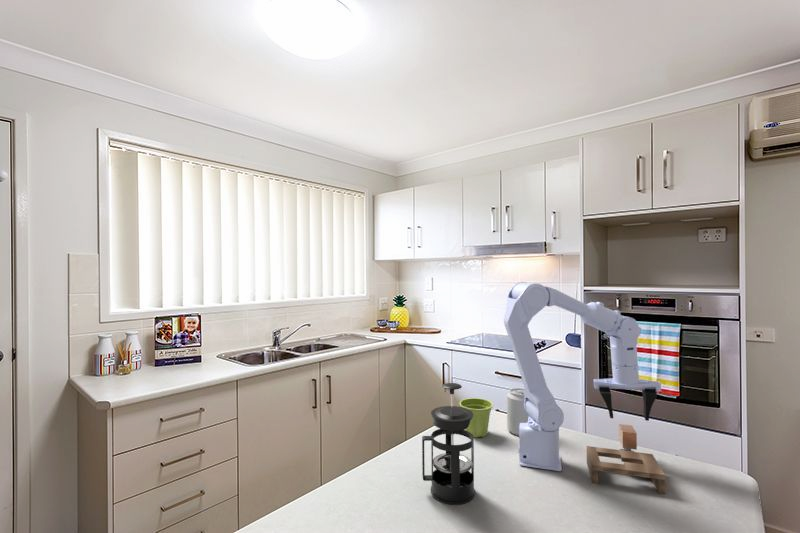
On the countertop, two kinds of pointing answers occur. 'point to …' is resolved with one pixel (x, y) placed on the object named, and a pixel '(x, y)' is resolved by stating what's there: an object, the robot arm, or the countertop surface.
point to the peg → (627, 437)
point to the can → (516, 410)
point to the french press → (451, 454)
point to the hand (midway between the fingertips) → (628, 417)
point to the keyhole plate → (625, 465)
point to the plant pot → (478, 415)
